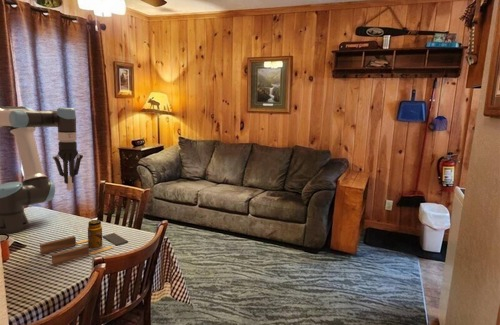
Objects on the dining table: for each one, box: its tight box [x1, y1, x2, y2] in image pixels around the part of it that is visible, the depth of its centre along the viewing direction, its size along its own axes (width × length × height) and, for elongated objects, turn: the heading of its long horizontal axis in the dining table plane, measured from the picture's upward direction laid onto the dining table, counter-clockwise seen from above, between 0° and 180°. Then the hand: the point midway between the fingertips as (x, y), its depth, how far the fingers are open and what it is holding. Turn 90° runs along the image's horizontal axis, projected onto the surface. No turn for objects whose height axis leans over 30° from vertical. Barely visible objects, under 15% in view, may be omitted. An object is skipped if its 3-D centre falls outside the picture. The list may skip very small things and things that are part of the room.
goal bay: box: [76, 238, 114, 255], centre depth 155 cm, size 17×10×1 cm, turn 49°
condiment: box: [81, 219, 106, 251], centre depth 153 cm, size 7×8×12 cm
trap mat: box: [102, 232, 129, 246], centre depth 162 cm, size 14×6×1 cm, turn 49°
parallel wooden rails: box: [39, 235, 90, 266], centre depth 145 cm, size 16×14×4 cm
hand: (69, 189), depth 159 cm, fingers closed
